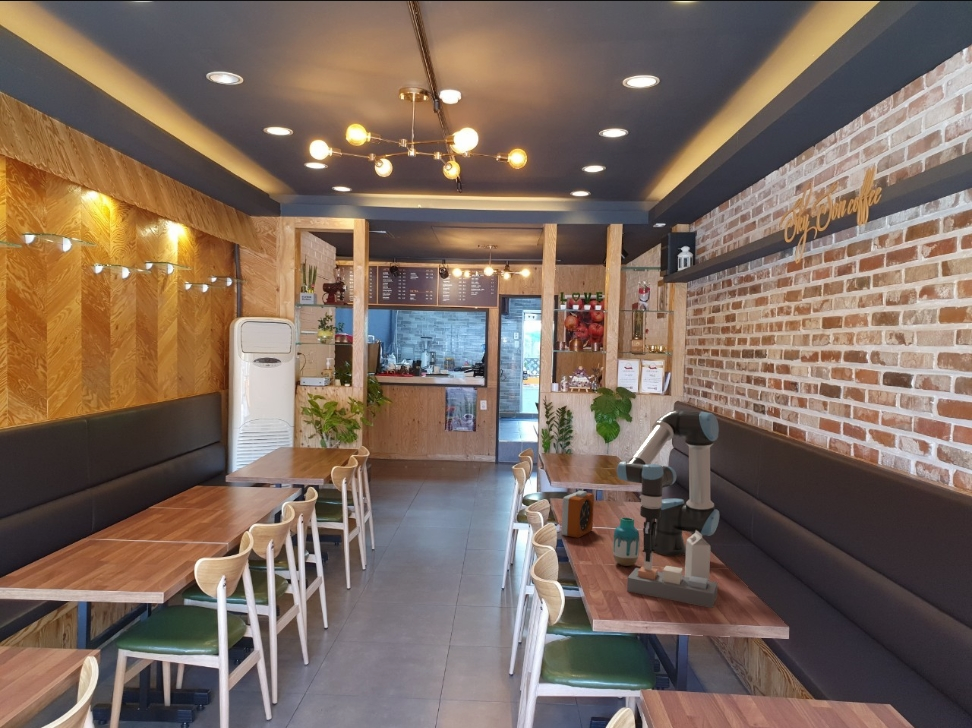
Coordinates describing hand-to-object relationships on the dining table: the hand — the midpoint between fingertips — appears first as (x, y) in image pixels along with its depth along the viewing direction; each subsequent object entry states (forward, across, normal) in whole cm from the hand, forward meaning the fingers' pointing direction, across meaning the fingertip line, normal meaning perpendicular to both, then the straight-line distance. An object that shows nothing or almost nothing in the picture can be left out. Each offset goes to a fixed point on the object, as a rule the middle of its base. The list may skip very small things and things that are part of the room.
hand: (647, 569), depth 244 cm
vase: (+8, -24, -14) cm, 29 cm away
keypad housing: (+7, 0, +9) cm, 12 cm away
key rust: (+6, 0, 0) cm, 6 cm away
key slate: (+6, 0, +18) cm, 19 cm away
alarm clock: (+7, -59, -46) cm, 75 cm away
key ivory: (+4, 0, +9) cm, 10 cm away
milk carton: (+8, -20, +15) cm, 26 cm away
